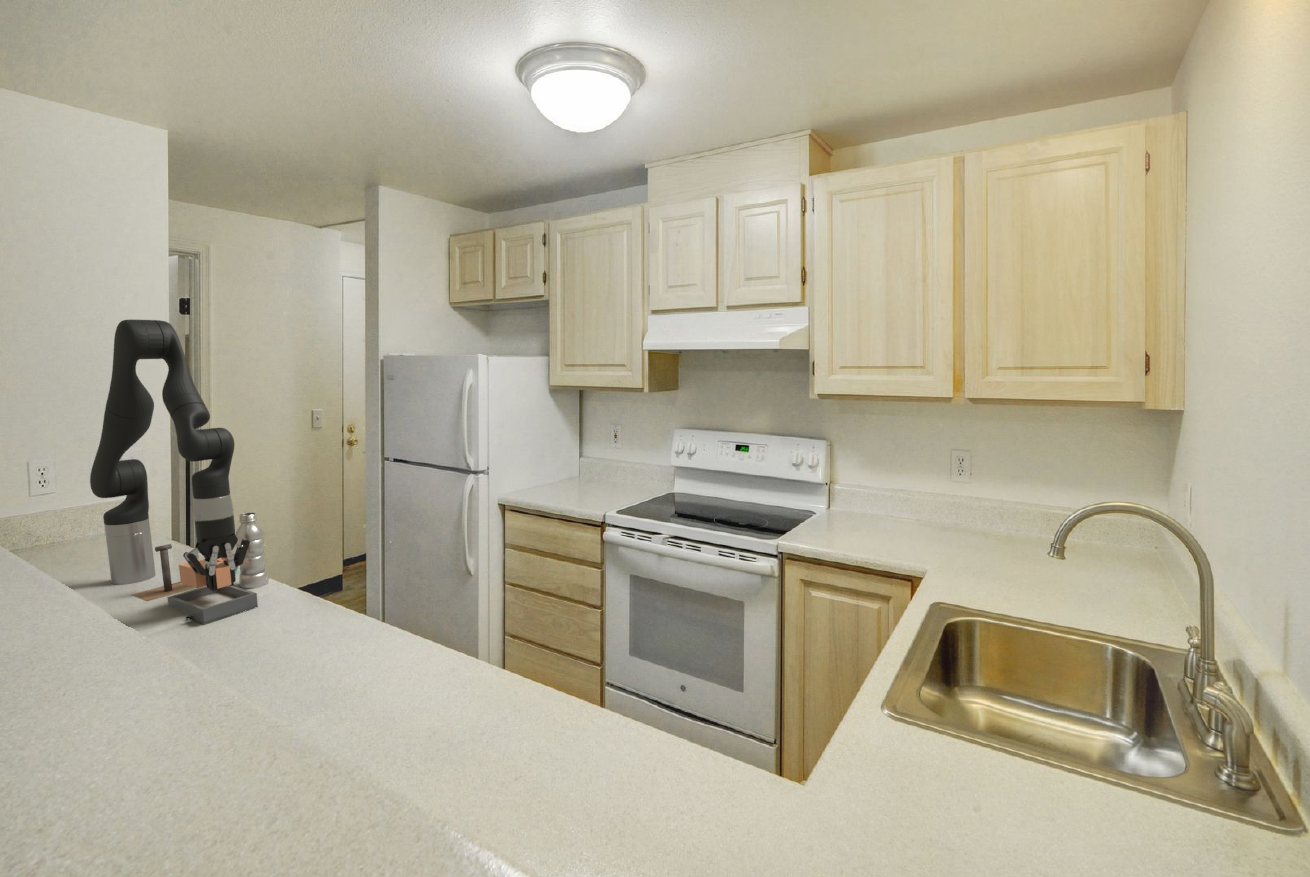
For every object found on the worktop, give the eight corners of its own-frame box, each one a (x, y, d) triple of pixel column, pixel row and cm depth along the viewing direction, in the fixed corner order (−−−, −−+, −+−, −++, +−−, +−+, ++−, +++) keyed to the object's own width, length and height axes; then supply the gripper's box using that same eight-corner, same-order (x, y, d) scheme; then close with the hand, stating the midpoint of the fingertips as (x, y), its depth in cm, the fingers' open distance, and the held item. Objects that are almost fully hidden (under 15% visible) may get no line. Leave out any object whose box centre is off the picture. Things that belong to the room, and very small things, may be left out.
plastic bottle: (246, 596, 163) (239, 518, 161) (235, 591, 167) (228, 515, 165) (274, 589, 168) (267, 513, 166) (262, 583, 173) (255, 509, 170)
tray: (169, 611, 155) (167, 597, 154) (222, 595, 164) (220, 582, 164) (204, 624, 146) (202, 609, 146) (257, 607, 156) (256, 593, 156)
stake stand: (131, 600, 162) (125, 549, 160) (185, 585, 172) (180, 537, 170) (148, 607, 157) (141, 554, 156) (202, 591, 168) (197, 541, 166)
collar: (180, 583, 154) (178, 564, 154) (215, 573, 161) (213, 556, 160) (206, 591, 148) (204, 572, 148) (241, 581, 155) (239, 563, 154)
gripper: (237, 507, 158) (244, 576, 160) (171, 520, 146) (179, 594, 148) (254, 510, 154) (261, 581, 156) (188, 524, 142) (196, 600, 144)
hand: (221, 587), depth 152 cm, fingers closed on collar, 3 cm apart
